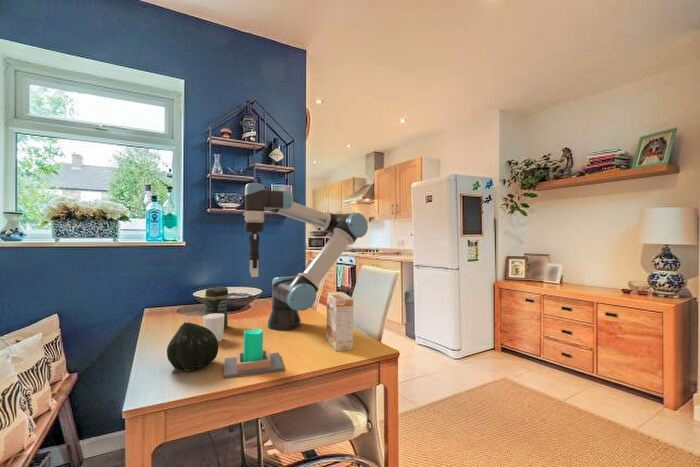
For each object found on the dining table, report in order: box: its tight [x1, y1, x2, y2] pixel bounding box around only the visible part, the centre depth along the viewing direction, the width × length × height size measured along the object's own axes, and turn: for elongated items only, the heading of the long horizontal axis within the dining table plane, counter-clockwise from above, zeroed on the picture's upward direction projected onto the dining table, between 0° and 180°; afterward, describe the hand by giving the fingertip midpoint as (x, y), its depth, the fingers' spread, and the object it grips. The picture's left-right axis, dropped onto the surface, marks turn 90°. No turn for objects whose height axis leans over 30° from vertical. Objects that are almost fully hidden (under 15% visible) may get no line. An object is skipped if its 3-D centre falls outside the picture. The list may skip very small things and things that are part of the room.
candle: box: [243, 326, 264, 362], centre depth 108 cm, size 6×6×12 cm
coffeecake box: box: [325, 291, 354, 352], centre depth 130 cm, size 15×7×20 cm, turn 18°
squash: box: [166, 321, 219, 372], centre depth 107 cm, size 14×15×15 cm
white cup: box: [203, 313, 225, 343], centre depth 133 cm, size 8×8×10 cm
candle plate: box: [222, 348, 285, 379], centre depth 108 cm, size 18×14×3 cm
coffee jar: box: [204, 286, 229, 329], centre depth 150 cm, size 10×8×19 cm
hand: (253, 274), depth 133 cm, fingers open, 13 cm apart
